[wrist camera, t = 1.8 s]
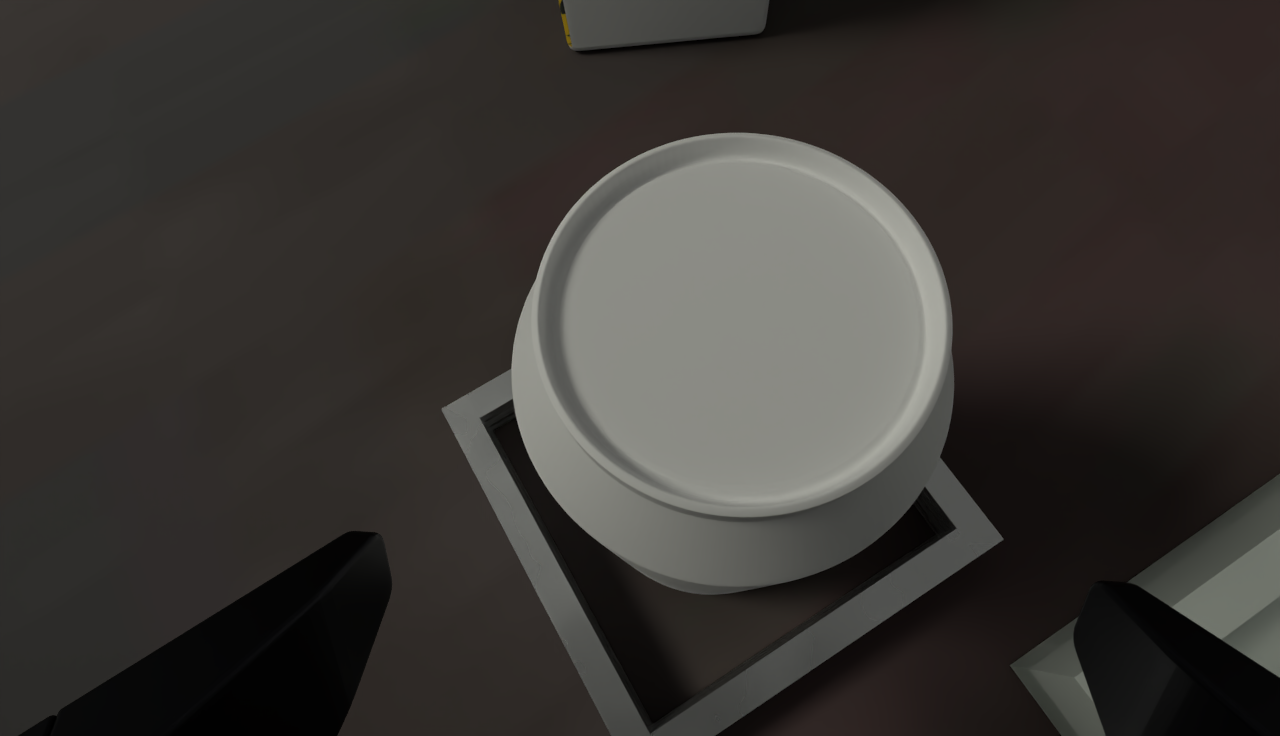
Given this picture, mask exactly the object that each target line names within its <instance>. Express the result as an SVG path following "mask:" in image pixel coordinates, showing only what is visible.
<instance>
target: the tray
mask: <svg viewBox="0 0 1280 736" xmlns="http://www.w3.org/2000/svg"><path fill="white" fill-rule="evenodd" d="M1128 583H1133V584H1135V585H1138V586H1139V587H1141V588H1142V589H1144V590H1146V591H1147V592H1149V593H1150V594H1152V595H1153V596H1155V597H1156V598H1158V599H1159V600H1161V601H1163V602H1164V603H1166V604H1167V605H1169V606H1170V607H1172V608H1173V609H1175V610H1176V611H1178V612H1179V613H1181V614H1183V615H1184V616H1186V617H1187V618H1189V619H1190V620H1192V621H1193V622H1195V623H1196V624H1198V625H1200V626H1201V627H1203V628H1204V629H1206V630H1207V631H1209V632H1210V633H1212V634H1213V635H1215V636H1216V637H1218V638H1220V639H1221V640H1223V641H1224V642H1226V643H1227V644H1229V645H1230V646H1232V647H1233V648H1235V649H1237V650H1238V651H1240V652H1241V653H1243V654H1244V655H1246V656H1247V657H1249V658H1250V659H1252V660H1253V661H1255V662H1257V663H1258V664H1260V665H1261V666H1263V667H1264V668H1266V669H1267V670H1269V671H1270V672H1272V673H1274V674H1275V675H1277V676H1278V677H1280V474H1279V475H1277V476H1276V477H1274V478H1273V479H1272V480H1270V481H1269V482H1267V483H1266V484H1265V485H1263V486H1262V487H1260V488H1259V489H1258V490H1256V491H1255V492H1253V493H1252V494H1250V495H1249V496H1248V497H1246V498H1245V499H1243V500H1242V501H1241V502H1239V503H1238V504H1236V505H1235V506H1234V507H1232V508H1231V509H1229V510H1228V511H1227V512H1225V513H1224V514H1222V515H1221V516H1219V517H1218V518H1217V519H1215V520H1214V521H1212V522H1211V523H1210V524H1208V525H1207V526H1205V527H1204V528H1203V529H1201V530H1200V531H1198V532H1197V533H1196V534H1194V535H1193V536H1191V537H1190V538H1188V539H1187V540H1186V541H1184V542H1183V543H1181V544H1180V545H1179V546H1177V547H1176V548H1174V549H1173V550H1172V551H1170V552H1169V553H1167V554H1166V555H1164V556H1163V557H1162V558H1160V559H1159V560H1157V561H1156V562H1155V563H1153V564H1152V565H1150V566H1149V567H1148V568H1146V569H1145V570H1143V571H1142V572H1141V573H1139V574H1138V575H1136V576H1135V577H1133V578H1132V579H1131V580H1129V581H1128ZM1077 619H1078V617H1077V618H1076V619H1074V620H1073V621H1071V622H1070V623H1069V624H1067V625H1066V626H1064V627H1063V628H1062V629H1060V630H1059V631H1057V632H1056V633H1055V634H1053V635H1052V636H1050V637H1049V638H1048V639H1046V640H1045V641H1043V642H1042V643H1040V644H1039V645H1038V646H1036V647H1035V648H1033V649H1032V650H1031V651H1029V652H1028V653H1026V654H1025V655H1024V656H1022V657H1021V658H1019V659H1018V660H1017V661H1015V662H1014V663H1012V664H1011V665H1010V666H1011V668H1012V669H1013V670H1014V672H1015V673H1016V675H1017V676H1018V677H1019V679H1020V680H1021V681H1022V683H1023V684H1024V685H1025V687H1026V688H1027V689H1028V691H1029V692H1030V694H1031V695H1032V696H1033V698H1034V699H1035V700H1036V702H1037V703H1038V704H1039V706H1040V707H1041V709H1042V710H1043V711H1044V713H1045V714H1046V715H1047V717H1048V718H1049V719H1050V721H1051V722H1052V724H1053V725H1054V726H1055V728H1056V729H1057V730H1058V732H1059V733H1060V734H1061V736H1105V733H1104V730H1103V727H1102V724H1101V721H1100V719H1099V716H1098V713H1097V710H1096V707H1095V704H1094V702H1093V699H1092V696H1091V693H1090V690H1089V687H1088V685H1087V682H1086V679H1085V676H1084V673H1083V670H1082V668H1081V665H1080V662H1079V659H1078V656H1077V653H1076V650H1075V647H1074V641H1073V633H1074V627H1075V624H1076V622H1077Z"/></svg>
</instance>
